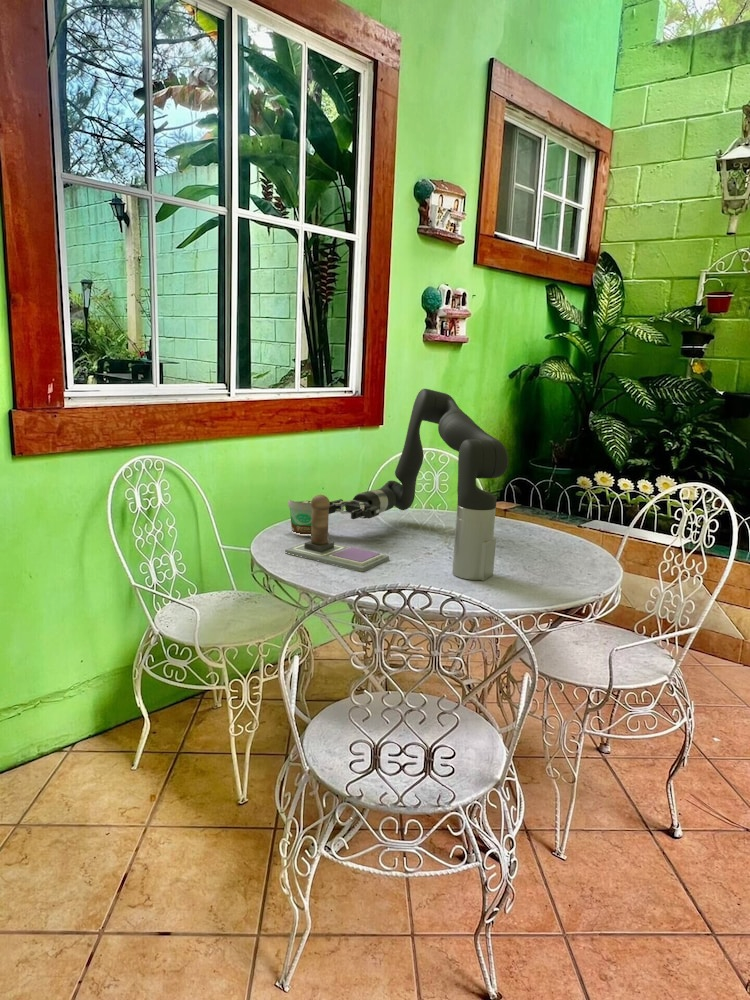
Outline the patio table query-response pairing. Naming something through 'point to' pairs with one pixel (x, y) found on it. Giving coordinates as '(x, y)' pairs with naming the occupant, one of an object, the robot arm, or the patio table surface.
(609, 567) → the patio table surface
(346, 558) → the stamping board
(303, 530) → the food container
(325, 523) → the stamp
